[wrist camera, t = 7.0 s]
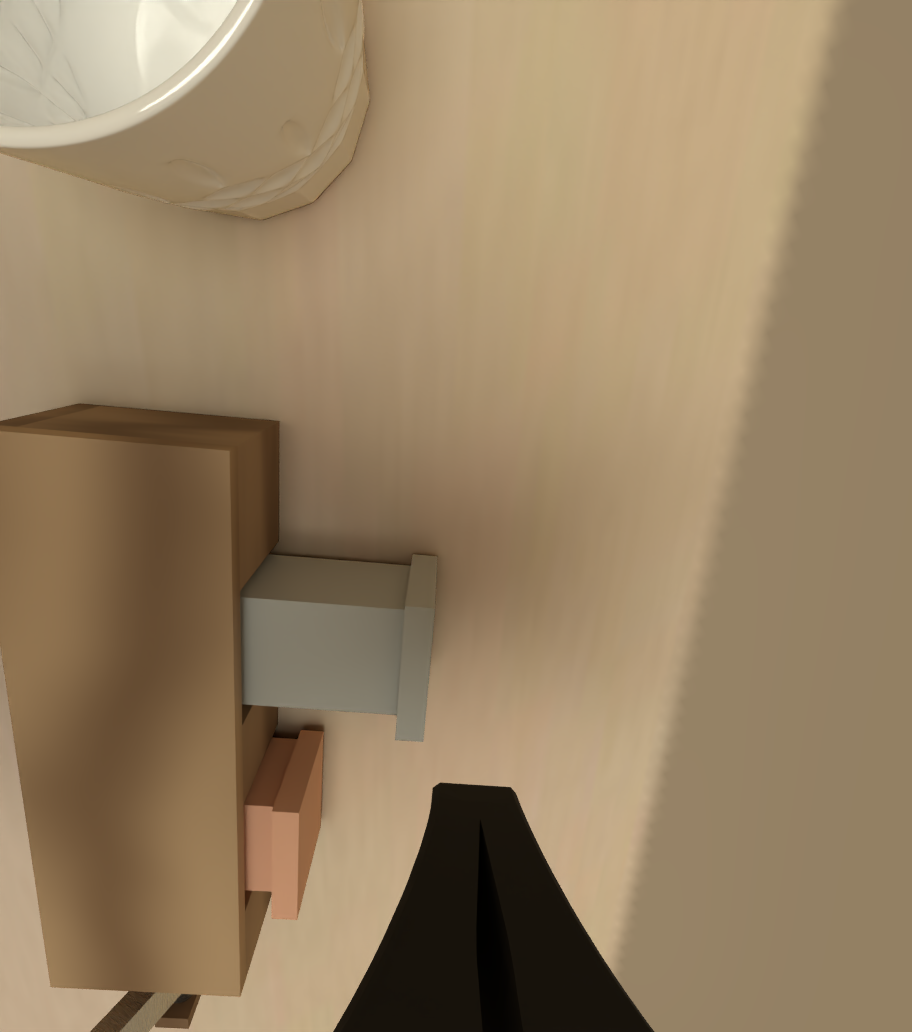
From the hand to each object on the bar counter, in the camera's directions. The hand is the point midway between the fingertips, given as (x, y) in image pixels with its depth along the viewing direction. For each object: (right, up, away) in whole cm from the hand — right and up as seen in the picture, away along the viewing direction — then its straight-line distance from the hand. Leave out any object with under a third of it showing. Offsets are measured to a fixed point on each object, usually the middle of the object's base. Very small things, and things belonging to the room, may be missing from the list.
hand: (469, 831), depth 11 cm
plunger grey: (-5, +3, +10) cm, 11 cm away
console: (-10, -2, +11) cm, 15 cm away
